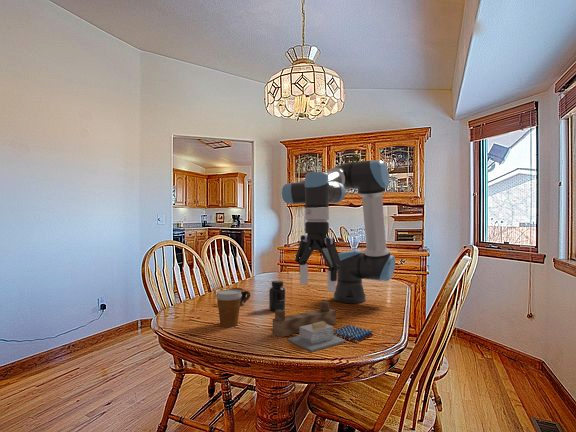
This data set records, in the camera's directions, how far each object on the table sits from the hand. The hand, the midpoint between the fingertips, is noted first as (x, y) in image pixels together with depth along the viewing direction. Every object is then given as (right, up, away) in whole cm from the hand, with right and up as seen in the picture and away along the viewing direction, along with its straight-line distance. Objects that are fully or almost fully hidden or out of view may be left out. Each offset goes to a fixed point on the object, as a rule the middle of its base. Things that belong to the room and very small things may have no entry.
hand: (317, 287), depth 115 cm
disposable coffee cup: (-31, -17, +17) cm, 39 cm away
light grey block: (0, -16, 0) cm, 16 cm away
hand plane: (-3, -17, +13) cm, 21 cm away
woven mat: (+12, -18, +6) cm, 22 cm away
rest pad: (0, -17, 0) cm, 17 cm away
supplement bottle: (-14, -17, +38) cm, 44 cm away
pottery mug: (-32, -17, +48) cm, 60 cm away
